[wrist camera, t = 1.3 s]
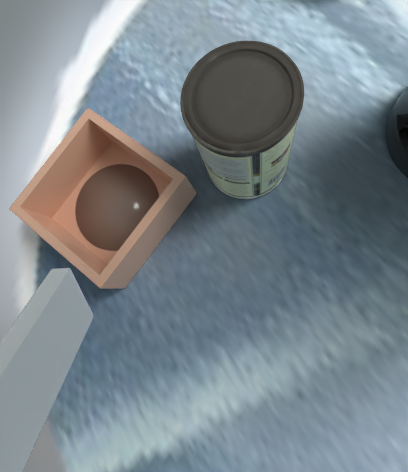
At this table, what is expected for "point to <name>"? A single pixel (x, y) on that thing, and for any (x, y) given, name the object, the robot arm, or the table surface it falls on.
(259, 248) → the table surface
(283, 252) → the table surface
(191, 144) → the table surface
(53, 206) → the planter box
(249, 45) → the coffee can
